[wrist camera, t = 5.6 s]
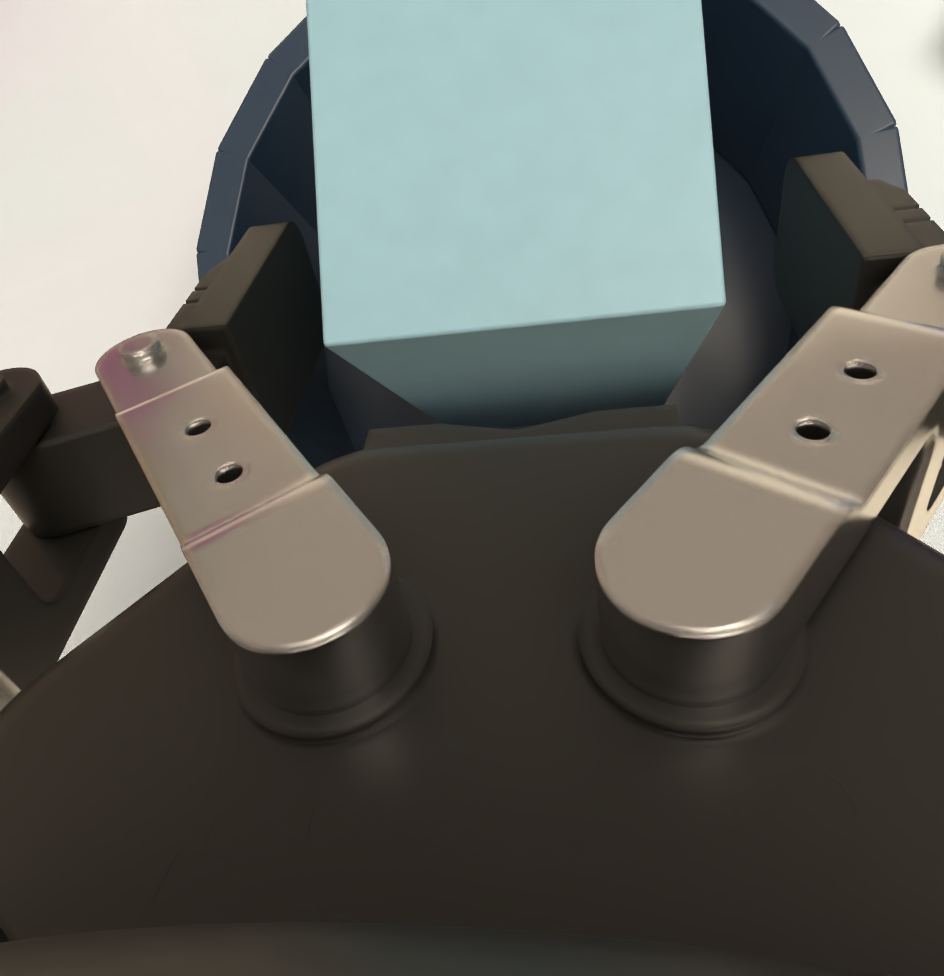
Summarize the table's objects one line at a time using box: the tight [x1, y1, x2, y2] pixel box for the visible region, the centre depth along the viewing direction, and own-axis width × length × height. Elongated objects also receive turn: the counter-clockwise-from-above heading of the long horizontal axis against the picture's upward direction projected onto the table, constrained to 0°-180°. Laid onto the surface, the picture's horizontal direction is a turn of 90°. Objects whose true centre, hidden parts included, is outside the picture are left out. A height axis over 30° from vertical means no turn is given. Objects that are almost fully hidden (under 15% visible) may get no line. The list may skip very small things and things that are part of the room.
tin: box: [197, 0, 908, 469], centre depth 16 cm, size 13×13×5 cm
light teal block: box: [306, 0, 726, 428], centre depth 14 cm, size 5×5×9 cm
